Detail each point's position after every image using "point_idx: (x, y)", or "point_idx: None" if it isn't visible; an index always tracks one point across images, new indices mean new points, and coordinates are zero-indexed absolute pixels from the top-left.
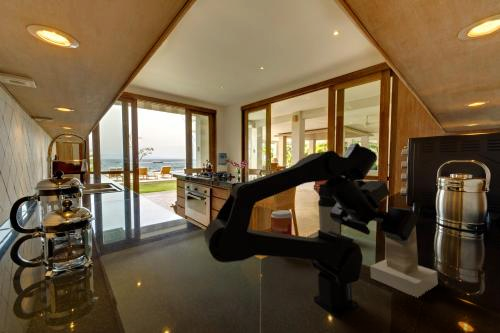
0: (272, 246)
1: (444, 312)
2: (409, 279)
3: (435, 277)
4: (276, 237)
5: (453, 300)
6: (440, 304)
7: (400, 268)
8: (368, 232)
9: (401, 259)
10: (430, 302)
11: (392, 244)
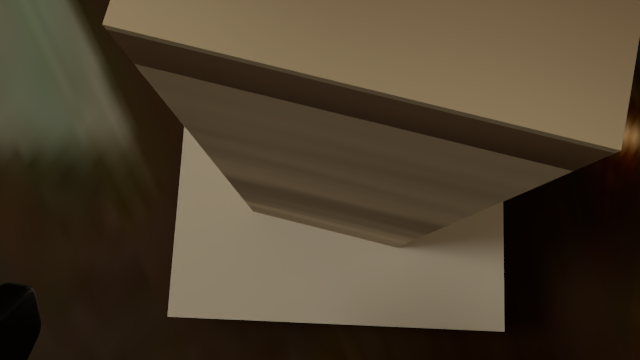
0: None
1: (610, 355)
2: (449, 301)
3: None
4: None
5: (589, 182)
6: (569, 286)
7: (369, 236)
8: (24, 331)
9: (393, 233)
10: (533, 310)
11: (314, 198)
